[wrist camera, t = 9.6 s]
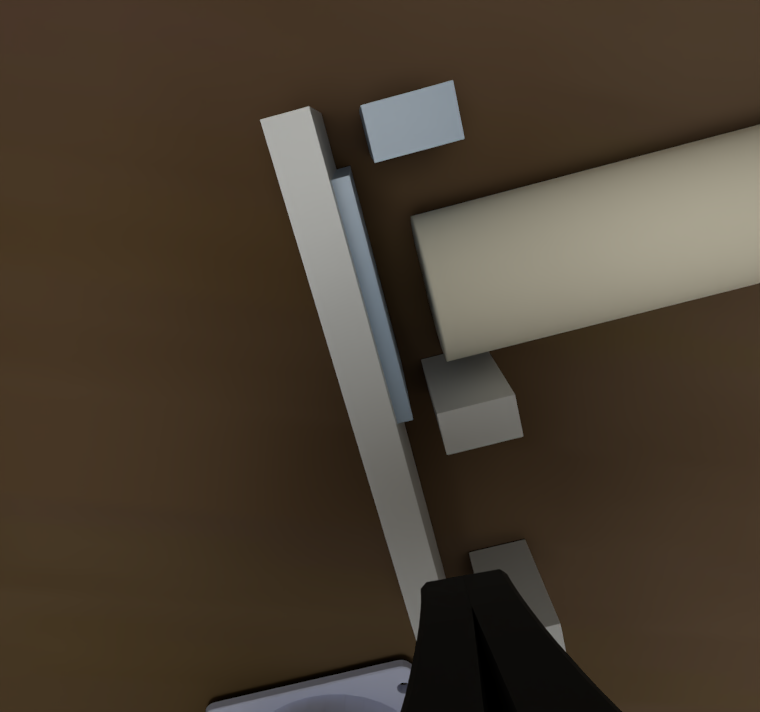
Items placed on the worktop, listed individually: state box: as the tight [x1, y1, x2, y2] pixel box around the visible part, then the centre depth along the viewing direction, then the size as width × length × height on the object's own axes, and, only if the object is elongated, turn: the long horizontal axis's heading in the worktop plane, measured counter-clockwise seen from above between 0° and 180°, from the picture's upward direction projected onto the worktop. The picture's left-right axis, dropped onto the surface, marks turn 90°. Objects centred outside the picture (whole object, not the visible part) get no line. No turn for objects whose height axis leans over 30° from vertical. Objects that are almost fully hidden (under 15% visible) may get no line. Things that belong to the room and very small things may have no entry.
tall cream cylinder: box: [411, 124, 760, 362], centre depth 17 cm, size 12×4×4 cm, turn 104°
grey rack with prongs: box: [260, 80, 566, 652], centre depth 17 cm, size 16×4×5 cm, turn 14°
